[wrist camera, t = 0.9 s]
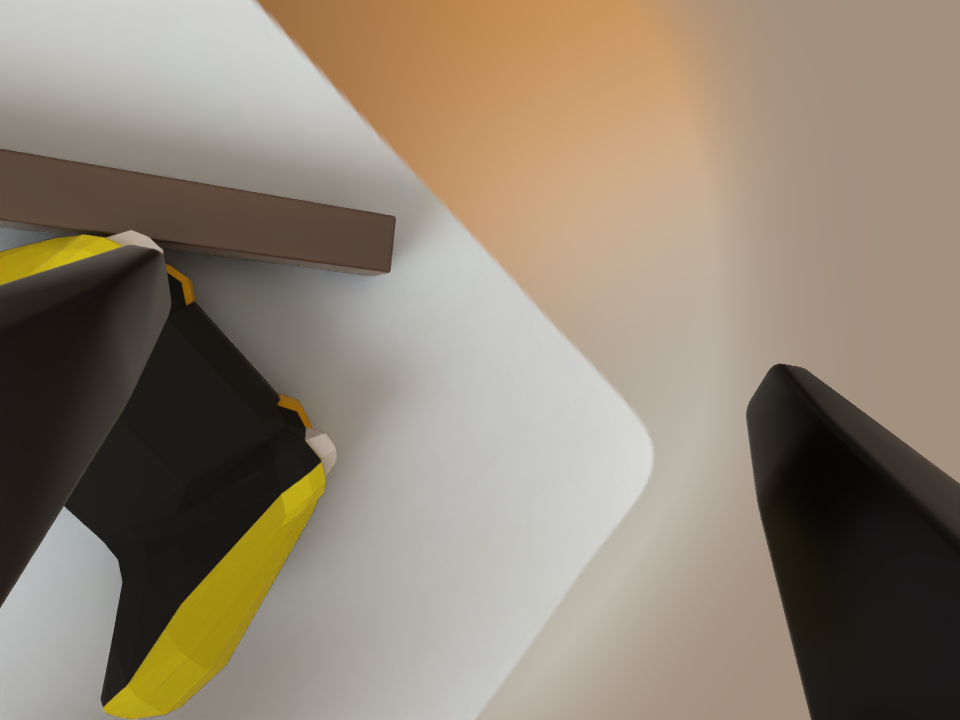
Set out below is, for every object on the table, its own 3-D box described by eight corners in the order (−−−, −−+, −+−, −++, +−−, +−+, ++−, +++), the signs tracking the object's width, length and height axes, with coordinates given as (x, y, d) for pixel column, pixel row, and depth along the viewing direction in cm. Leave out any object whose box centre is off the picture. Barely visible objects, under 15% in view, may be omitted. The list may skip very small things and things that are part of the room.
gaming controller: (165, 666, 23) (373, 482, 26) (145, 769, 18) (407, 527, 20) (-194, 358, 19) (95, 169, 21) (-354, 378, 14) (49, 125, 16)
